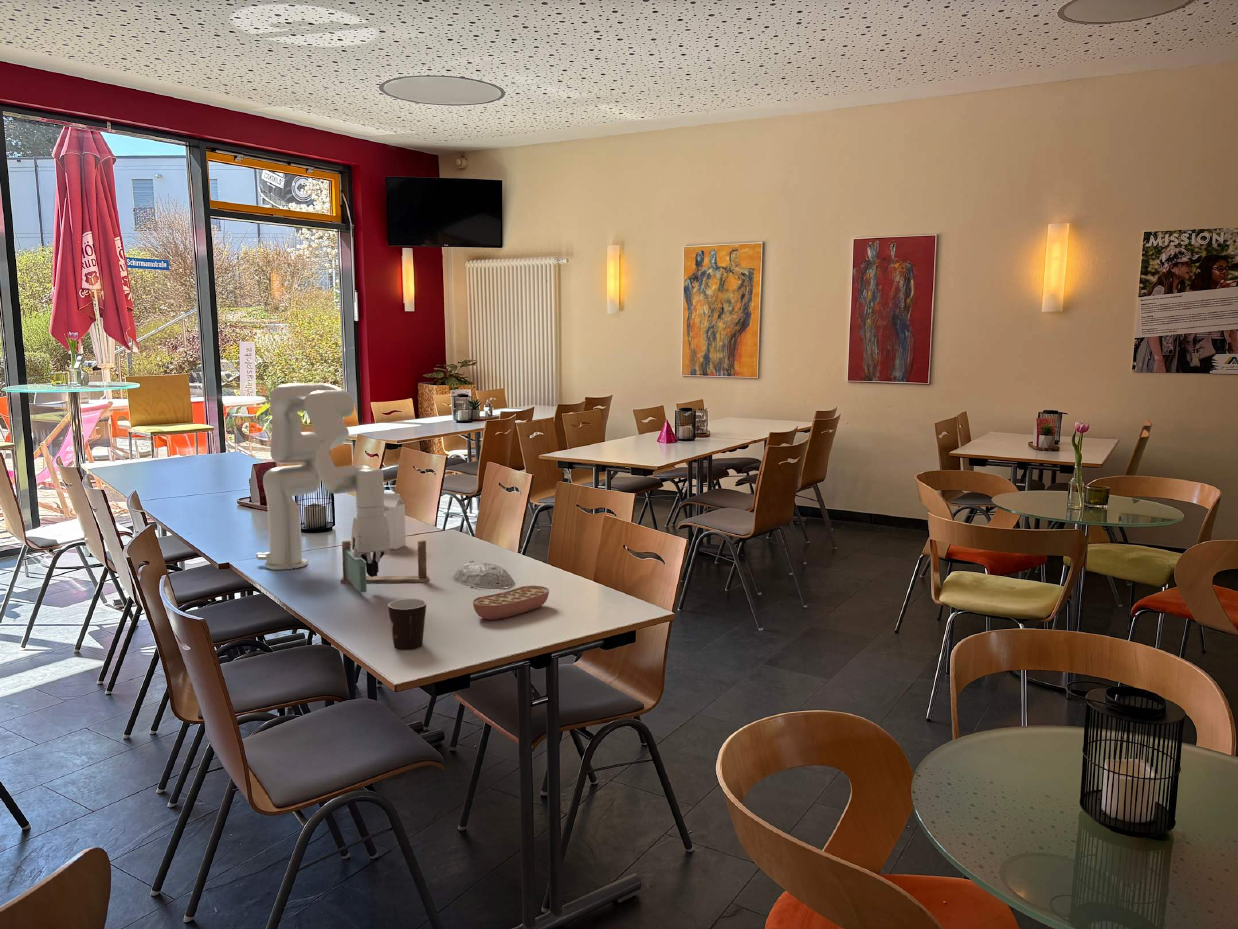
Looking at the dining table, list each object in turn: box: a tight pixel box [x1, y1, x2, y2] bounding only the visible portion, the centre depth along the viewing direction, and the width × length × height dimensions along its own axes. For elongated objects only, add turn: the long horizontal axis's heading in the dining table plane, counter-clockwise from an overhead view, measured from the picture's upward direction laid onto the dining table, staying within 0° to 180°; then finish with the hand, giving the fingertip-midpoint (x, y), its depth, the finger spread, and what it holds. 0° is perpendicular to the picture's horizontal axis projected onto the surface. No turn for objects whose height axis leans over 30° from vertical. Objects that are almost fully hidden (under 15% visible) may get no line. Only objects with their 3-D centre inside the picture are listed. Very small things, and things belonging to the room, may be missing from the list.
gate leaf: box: [345, 548, 367, 593], centre depth 247 cm, size 19×2×8 cm, turn 30°
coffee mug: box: [387, 598, 427, 651], centre depth 199 cm, size 12×9×10 cm
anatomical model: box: [472, 585, 550, 621], centre depth 227 cm, size 23×10×5 cm, turn 137°
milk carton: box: [384, 492, 407, 550], centre depth 301 cm, size 7×7×19 cm
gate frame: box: [340, 539, 430, 584], centre depth 257 cm, size 25×4×12 cm, turn 94°
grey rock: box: [451, 560, 516, 590], centre depth 259 cm, size 16×25×7 cm, turn 45°
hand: (372, 575), depth 246 cm, fingers closed
